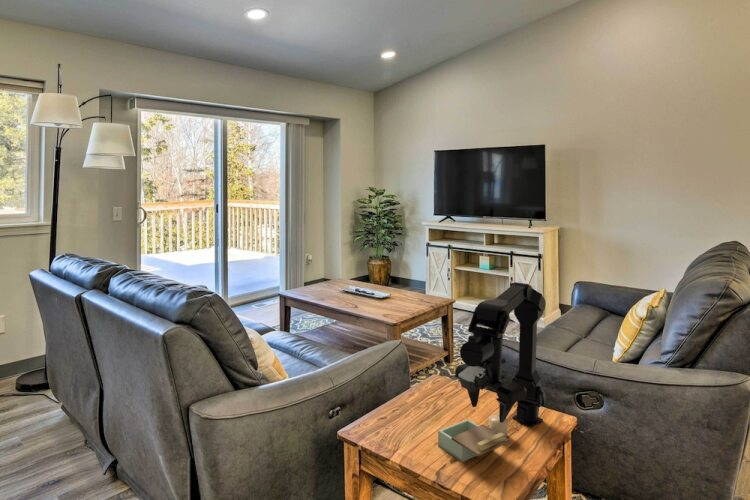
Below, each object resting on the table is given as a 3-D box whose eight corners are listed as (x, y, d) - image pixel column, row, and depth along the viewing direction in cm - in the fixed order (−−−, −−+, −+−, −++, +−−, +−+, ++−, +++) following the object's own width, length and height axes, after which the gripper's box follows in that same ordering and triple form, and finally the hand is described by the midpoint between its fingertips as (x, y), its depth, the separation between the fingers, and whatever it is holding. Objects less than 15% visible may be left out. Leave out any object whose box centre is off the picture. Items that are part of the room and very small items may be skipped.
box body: (466, 433, 129) (467, 419, 129) (491, 448, 122) (492, 433, 122) (437, 445, 123) (438, 430, 123) (461, 462, 116) (462, 446, 115)
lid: (482, 426, 125) (482, 418, 124) (509, 441, 117) (510, 433, 117) (451, 439, 118) (451, 431, 118) (478, 456, 111) (478, 448, 110)
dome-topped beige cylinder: (496, 429, 132) (497, 412, 131) (510, 436, 128) (511, 420, 127) (484, 434, 129) (485, 417, 129) (498, 442, 125) (499, 425, 125)
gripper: (439, 348, 115) (438, 407, 117) (495, 374, 99) (492, 441, 101) (471, 341, 121) (470, 396, 123) (529, 363, 105) (526, 427, 107)
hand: (487, 414), depth 113 cm, fingers open, 9 cm apart
